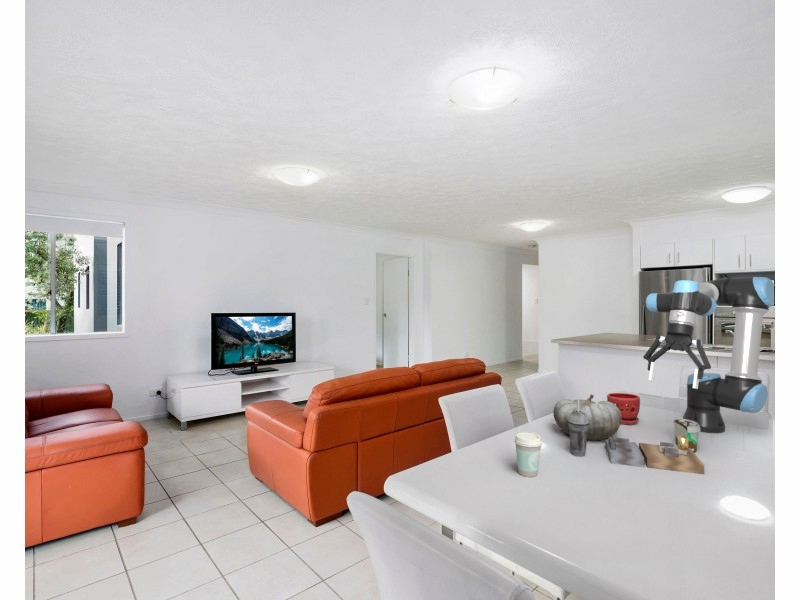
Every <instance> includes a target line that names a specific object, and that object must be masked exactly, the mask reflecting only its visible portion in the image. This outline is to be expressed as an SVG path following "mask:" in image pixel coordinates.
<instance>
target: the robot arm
mask: <svg viewBox="0 0 800 600" xmlns="http://www.w3.org/2000/svg"><path fill="white" fill-rule="evenodd" d="M774 286H775V284H774V282H773V280H771V279H770V278H768V277H765V276H759V277H758V276H745V277H744V276H742V277H741V276H740V277H723V278H722V277H721V278H716V279H713V280H708V281H705V282H700V283H699V282H697V281H694V280H689V279H688V280H687V279H685V280H684V279H682V280H676V281H675V282H674V284H673V290H672V291H667V292H662V293H661V292H655V293H650V294H648V295H647V296H646V299H645V305H646V308H647V310H648V311H649V312H651V313H658V314H659V313H664V314H665V313H666V314H667V313H669V319H668V322H669V323H668V324H667V325H668V326H667V332H666V335H665V336H662V335H659V334H657V335H656V337H655V340H654V342H653V343H652V344H651V346H650V347H649V348H648V350H647V351H646V352H645V354H644V355H643V357H642V358H643V359H644V360H646V361H648V363H647V371H648V372H649V374H648V375H649V376H648V381H651V382H654V381H655V375H656V369H657V363H656V362H655V361H657V360H658V359H660V358H661V357H662V356H663V355H664V354H666V353H667V352H668V351H670V350H672V351H679V352H684V351H685V353H686V354H687V355H688V356H689V358H690V359H691V361H693V363H694V364H695V366H696V367H697V368H694V373H692V374H689V375H688V377H687V382H686V409H685V412H684V414H683V416H682V419H688V420H692V421H695V422H697V423H698V424H699V426H700V429H701V431H700V432H703V433H710V434H711V433H713V434H714V433H715V434H716V433H717V434H719V433H724V432H725V431H726V425H725V421H724V419H723V416H722V413H721V408H724V409H725V408H726V409H731V410H735V411H739V412H742V413H745V412H746V413H752V414H755V413H758V412H760V411H761V410H763V408H764V406H765V405H766V403H767V399H768V394H769V393H768V387H767V386H766V385H765V384H763V379H762V378H761V377H760V376H759V374H758V372H759V371H758V370H759V363H760V362H759V360H760V350H761V340H762V331H763V330H762V329H763V322H764V321H763V318H764V315H765V314H767V313H768V312H769V309H770V308H771V307H773V306H775V305H774ZM717 305H722V306H731V309H732V311H734V313H735V319H734V321H735V322H734V330H733V341H732V352H731V358H730V359H731V361H730V368H729V369H730V370H729V371H728V372H727V373H725V374H724V378H722V375H721V374H720V373H715V372H714V373H713V372H709V373H708V372H707V373H706V372H705V373H704V371H706V370H710V369H712V366H711V363H710V361H709V359H708V356H707V354H706V352H705V350H704V346H703V345H704V342H703V340H701V339H693V335H694V324H695V319H696V315H697V316H700V317H708V316H710V315H712V314H713V313H715V312H716V310H717ZM663 342H665V344H664V345H663V346H662V348H660V349H659V350H658V351H656V350H657V349H658V348H659V347H660V345H661V343H663ZM692 345H694V346H695V347H696V349H697V351H698V353H699V356H700V359H701V361H700V360H699V359H698V357H697V356H696V354H695V353H694V352H693V350H692V349H691V346H692ZM702 363H703V364H702Z"/></svg>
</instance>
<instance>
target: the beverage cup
mask: <svg viewBox="0 0 800 600" xmlns="http://www.w3.org/2000/svg"><path fill="white" fill-rule="evenodd" d="M577 400H578V411H573V412H572V413H571V414H570V415H569V417H568V426H569V433H570V435H569V442H570V451H571V452H570V453H571V455H573V456H574V457H578V458H581V457H582V458H583V457H585V456H586V450H587V441H588V439H587V432H588V428H589V419H588V417H587V415H586V414H585V413H584V412H582V411H579V400H580V399H577Z"/></svg>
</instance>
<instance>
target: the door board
mask: <svg viewBox="0 0 800 600" xmlns="http://www.w3.org/2000/svg"><path fill="white" fill-rule="evenodd" d="M659 446H669V447H677V446H676V445H675V442H674V443H672V442H663V441H660V443H659V444H656V443H655V444H654V443H646V442H645V443H644V442H638V445H637V443H636V442H635V441H630V439H629V438H624V437H615V436H611V437H608V438H605V449H606V452H607V455H608V456H607V457H608V459H609V461H610V464H615V465H626V466H632V467H641V468H644V467H645V466H646V467H647V468H650V469H658V470H666V471H674V472H675V471H676V472H683V473H690V474H691V473H692V474H700V475H705V464H704V463H703V462H702V460H701V459H700V458H699V456H697V455H696V453H694V452H693V451H692V450H691V449H690V448H688V450H687V455H683V454H679V450H678V449H677V448H667V447H664V452H660V451H659Z"/></svg>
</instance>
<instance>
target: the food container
mask: <svg viewBox="0 0 800 600" xmlns="http://www.w3.org/2000/svg"><path fill="white" fill-rule="evenodd" d="M673 423H674V424H673V425H674V445H675V446H676V447H678V436H686V437H688V448H690V449H691V450H692V451H693V452H694V453H695V454H696V452H697V449H698V439H699V438H698V437H699V432H702V431H701V429H700V426H699V424H698V423H697V422H695V421H692V420H688V419H683V417H674V419H673Z"/></svg>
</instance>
